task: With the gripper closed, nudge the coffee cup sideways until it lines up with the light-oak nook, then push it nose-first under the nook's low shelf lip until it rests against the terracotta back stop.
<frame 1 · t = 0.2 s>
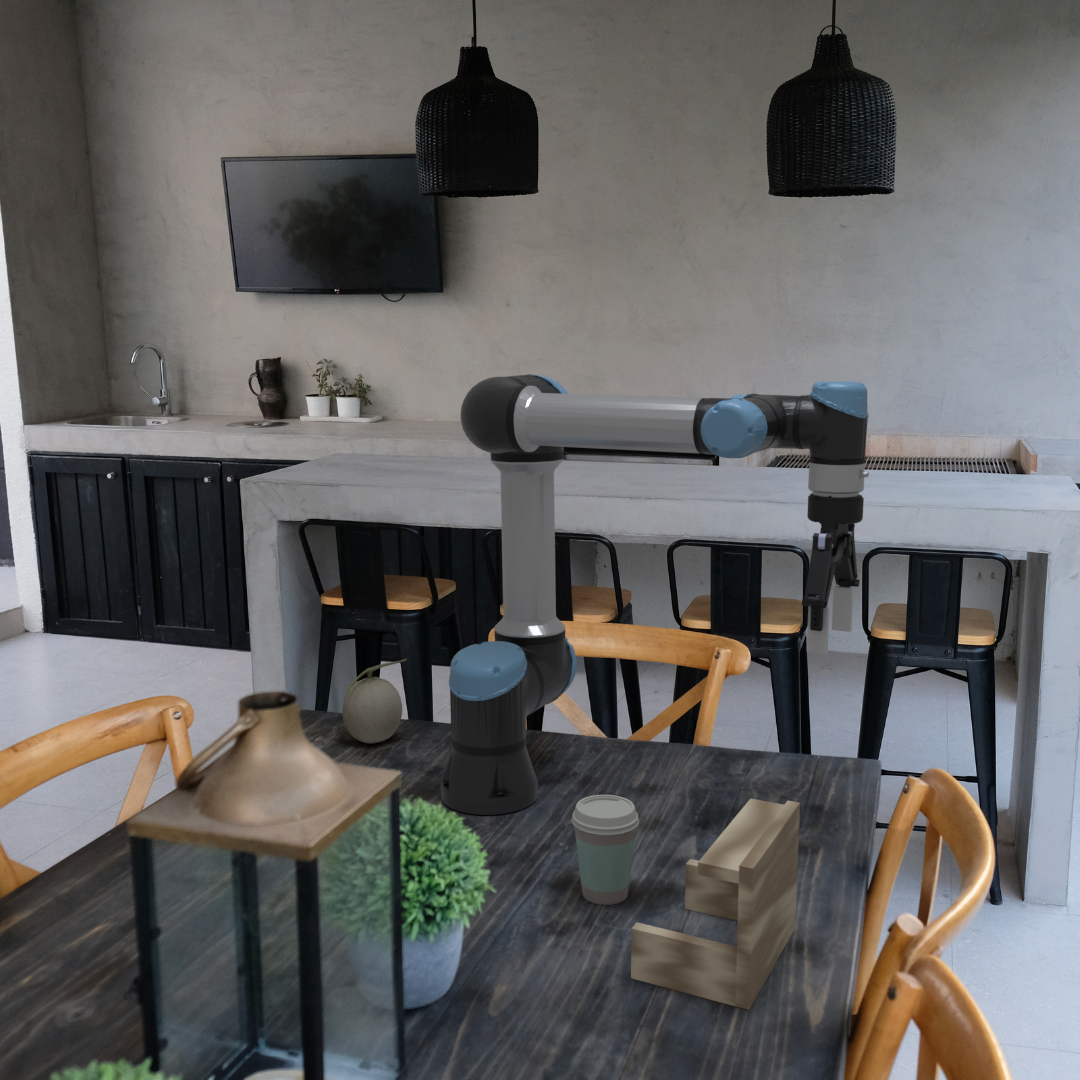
hand: (829, 641, 160), 28 cm above the table, fingers open, 13 cm apart
nook: (722, 953, 130), on the table
coffee cup: (604, 895, 144), on the table
fruit: (371, 742, 200), on the table
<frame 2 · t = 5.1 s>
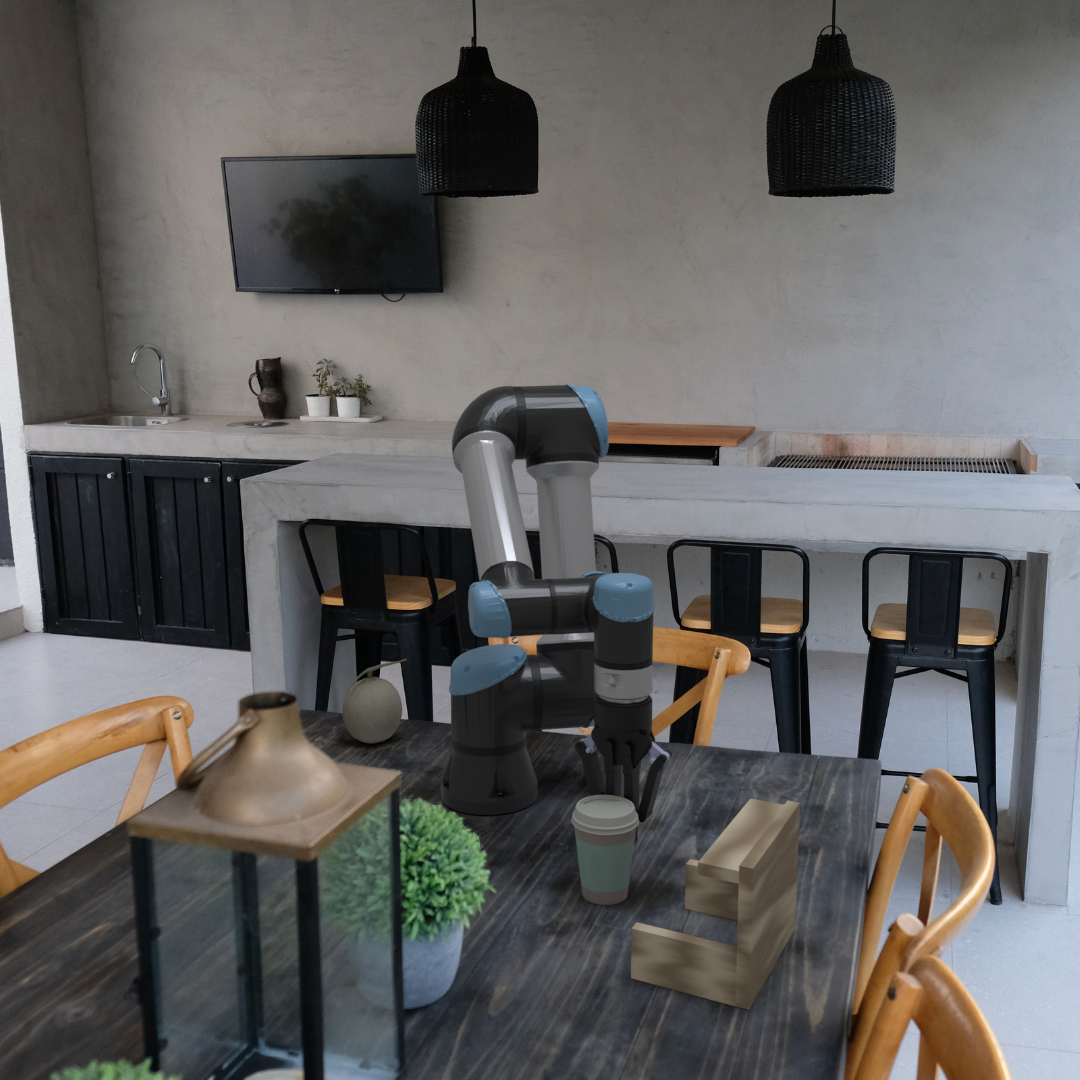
hand: (622, 866, 149), 2 cm above the table, fingers closed
coffee cup: (604, 895, 144), on the table, touching gripper
everything else where it was.
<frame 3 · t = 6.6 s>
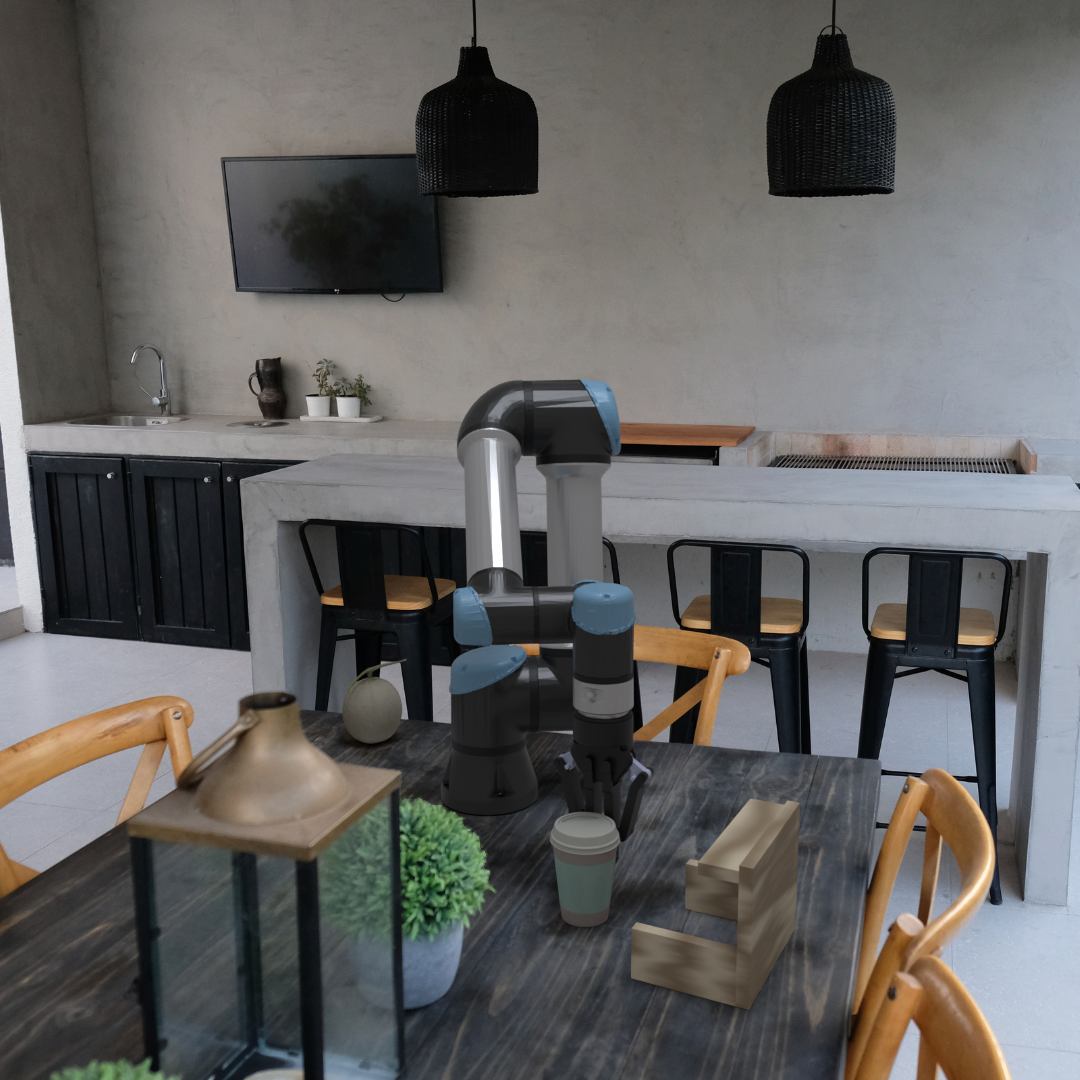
hand: (602, 886, 143), 1 cm above the table, fingers closed
coffee cup: (584, 917, 139), on the table, touching gripper
everything else where it was.
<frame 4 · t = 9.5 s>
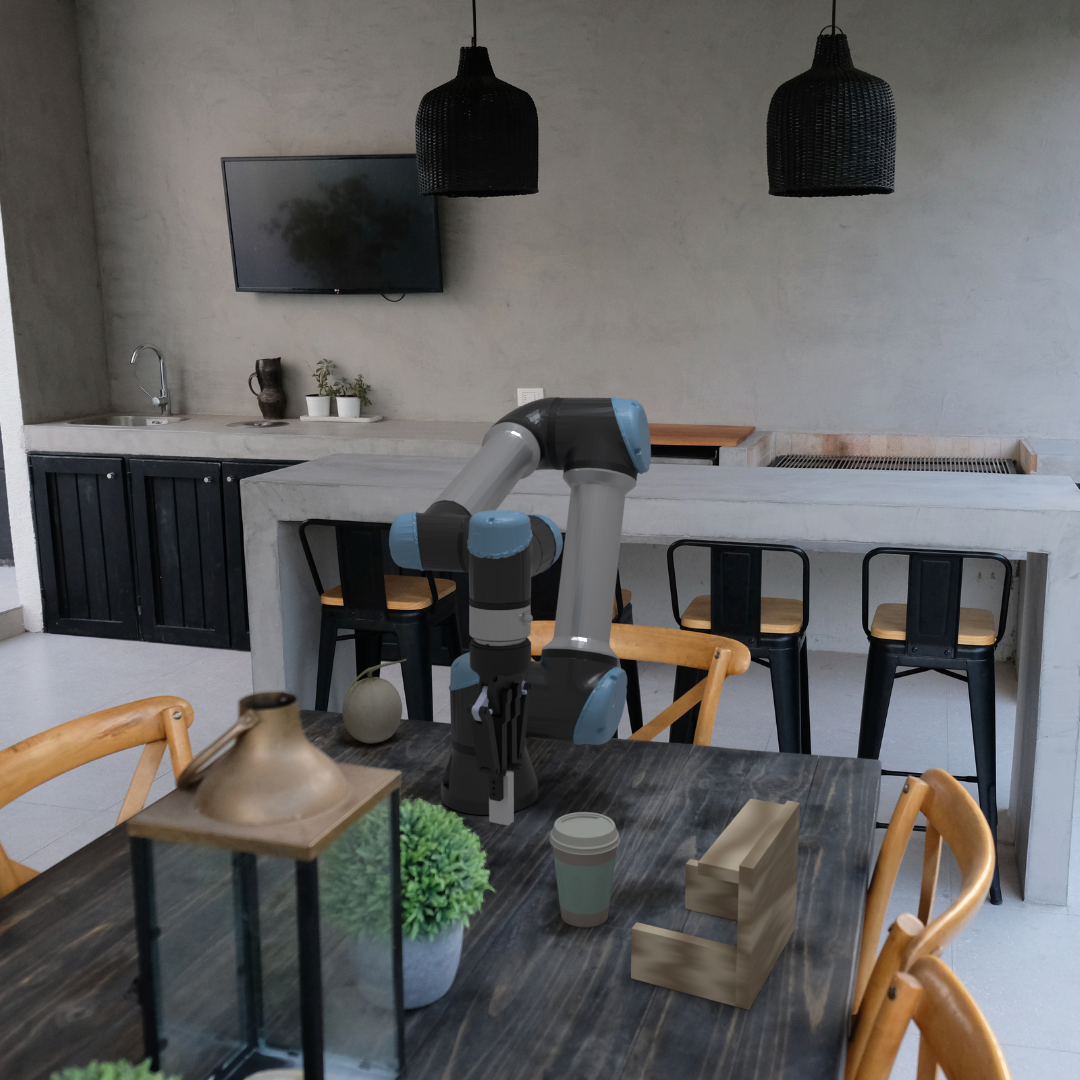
hand: (501, 821, 141), 11 cm above the table, fingers closed
coffee cup: (584, 917, 139), on the table
everything else where it was.
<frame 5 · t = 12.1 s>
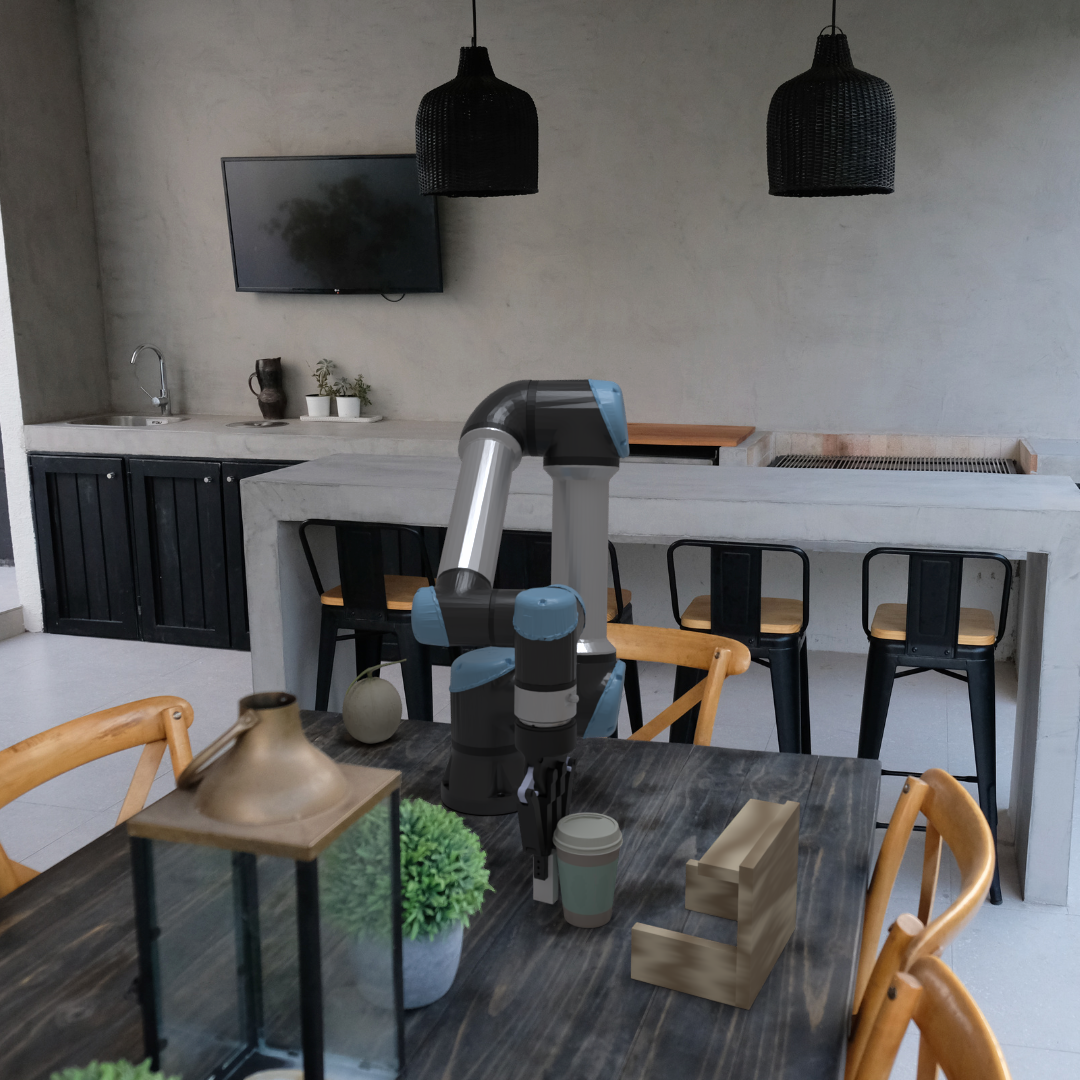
hand: (545, 899, 140), 2 cm above the table, fingers closed
coffee cup: (587, 917, 139), on the table, touching gripper
everything else where it was.
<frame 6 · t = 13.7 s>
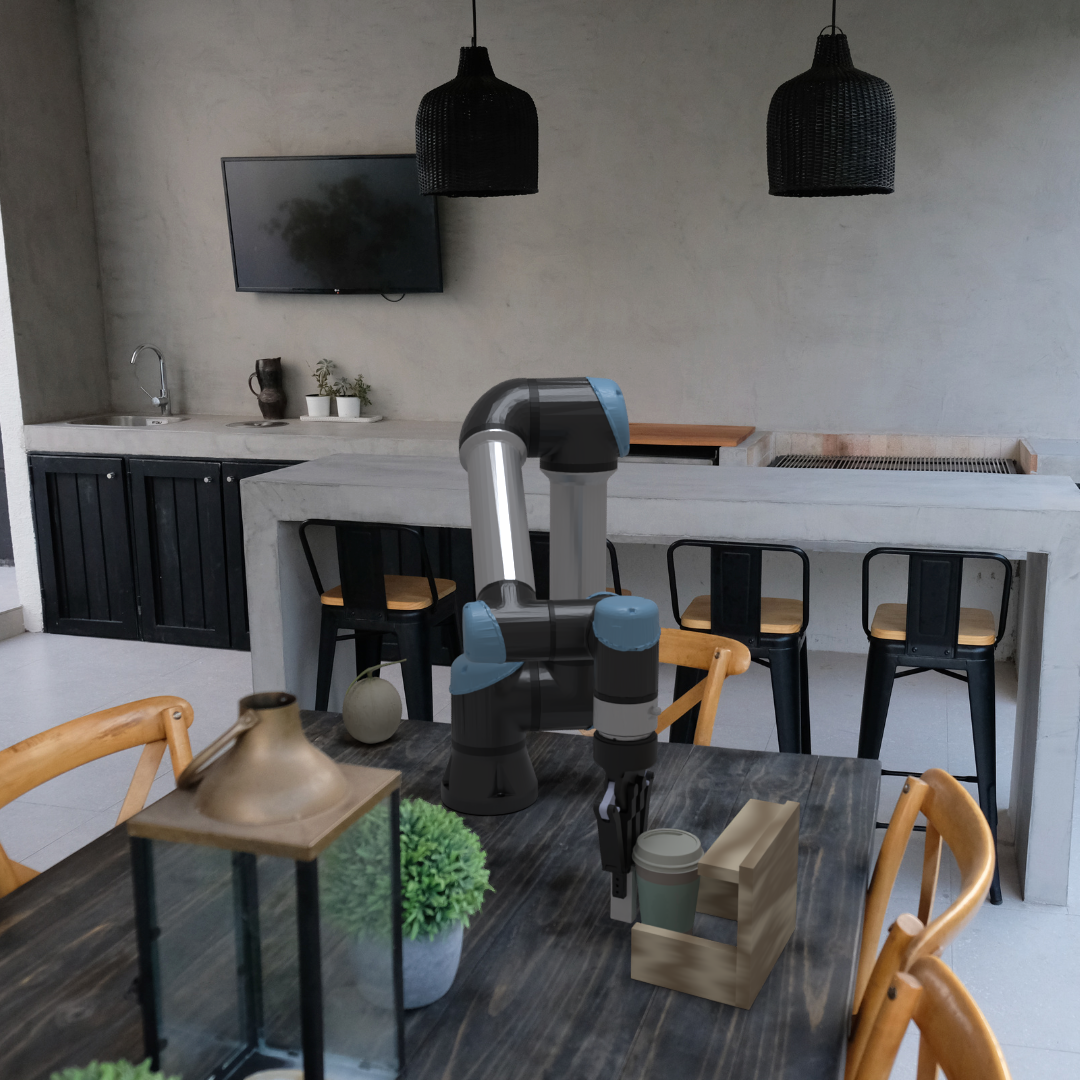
hand: (623, 917, 135), 2 cm above the table, fingers closed
coffee cup: (667, 937, 134), on the table, touching gripper, hand
everything else where it was.
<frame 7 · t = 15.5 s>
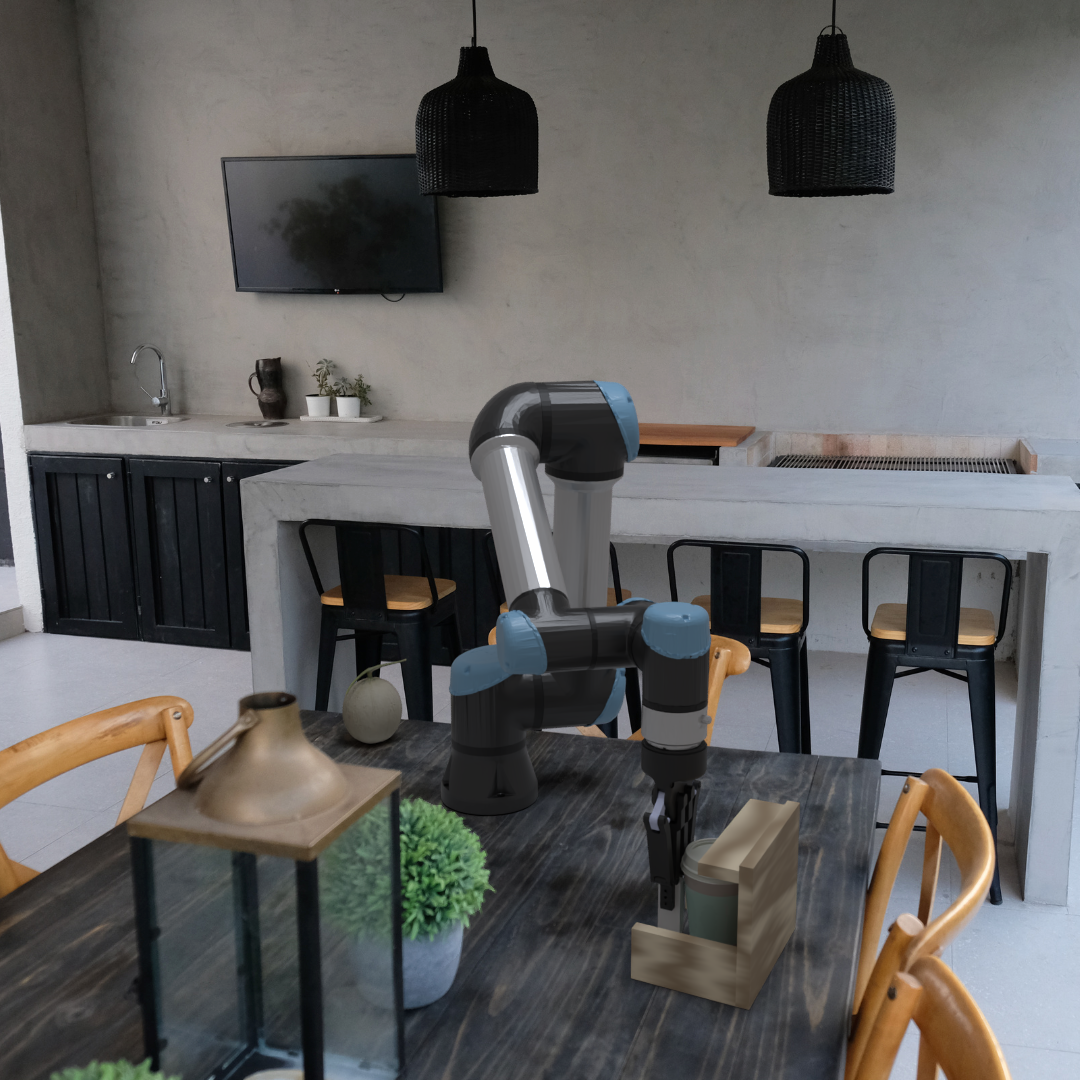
hand: (670, 929, 133), 1 cm above the table, fingers closed
coffee cup: (715, 949, 132), on the table, touching gripper
everything else where it was.
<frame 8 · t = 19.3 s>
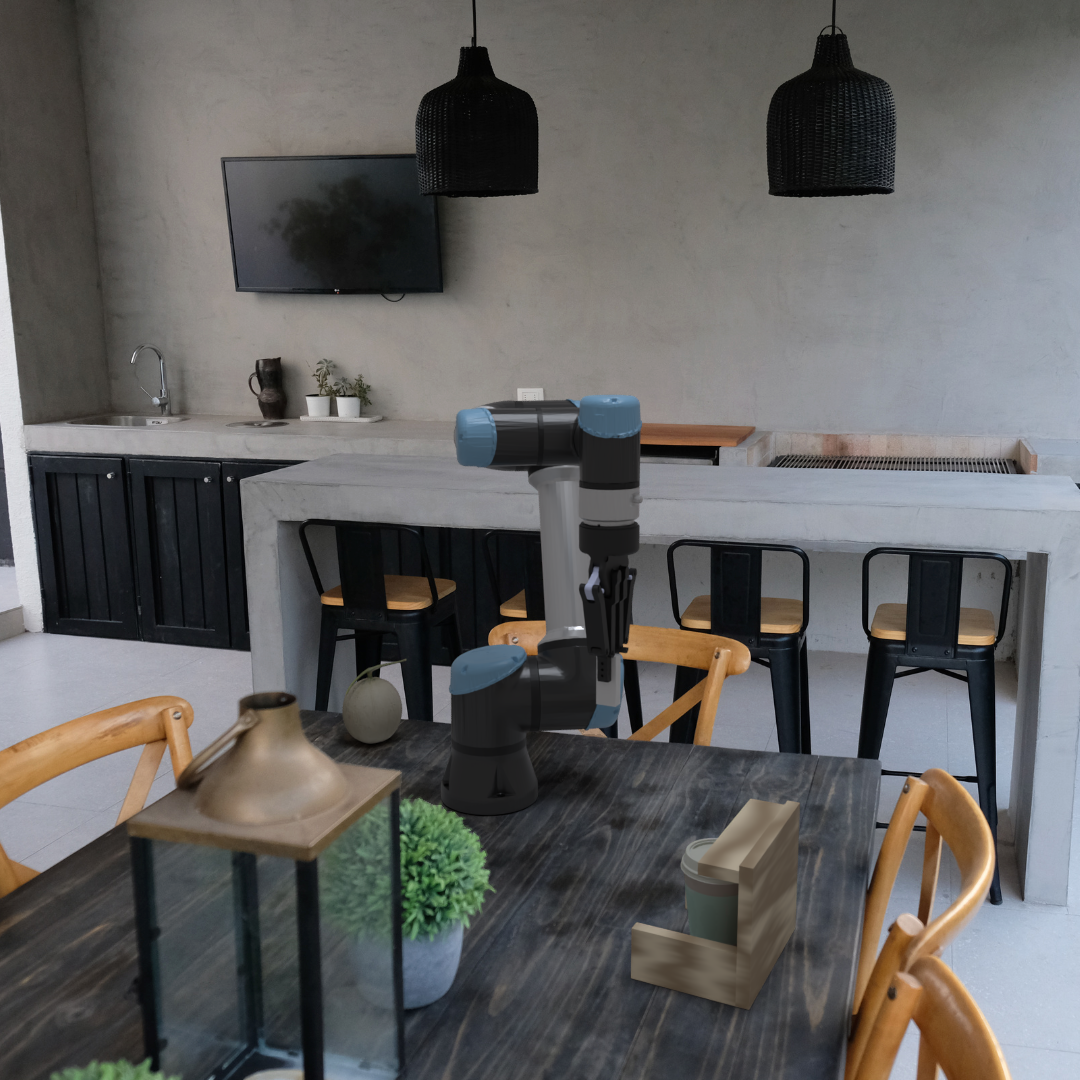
hand: (608, 703, 143), 24 cm above the table, fingers closed
coffee cup: (715, 949, 132), on the table
everything else where it was.
at the end: coffee cup inside the target area on the nook (1.2 cm from its centre), point 0.0 cm above the nook's base; coffee cup tilted 0° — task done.
